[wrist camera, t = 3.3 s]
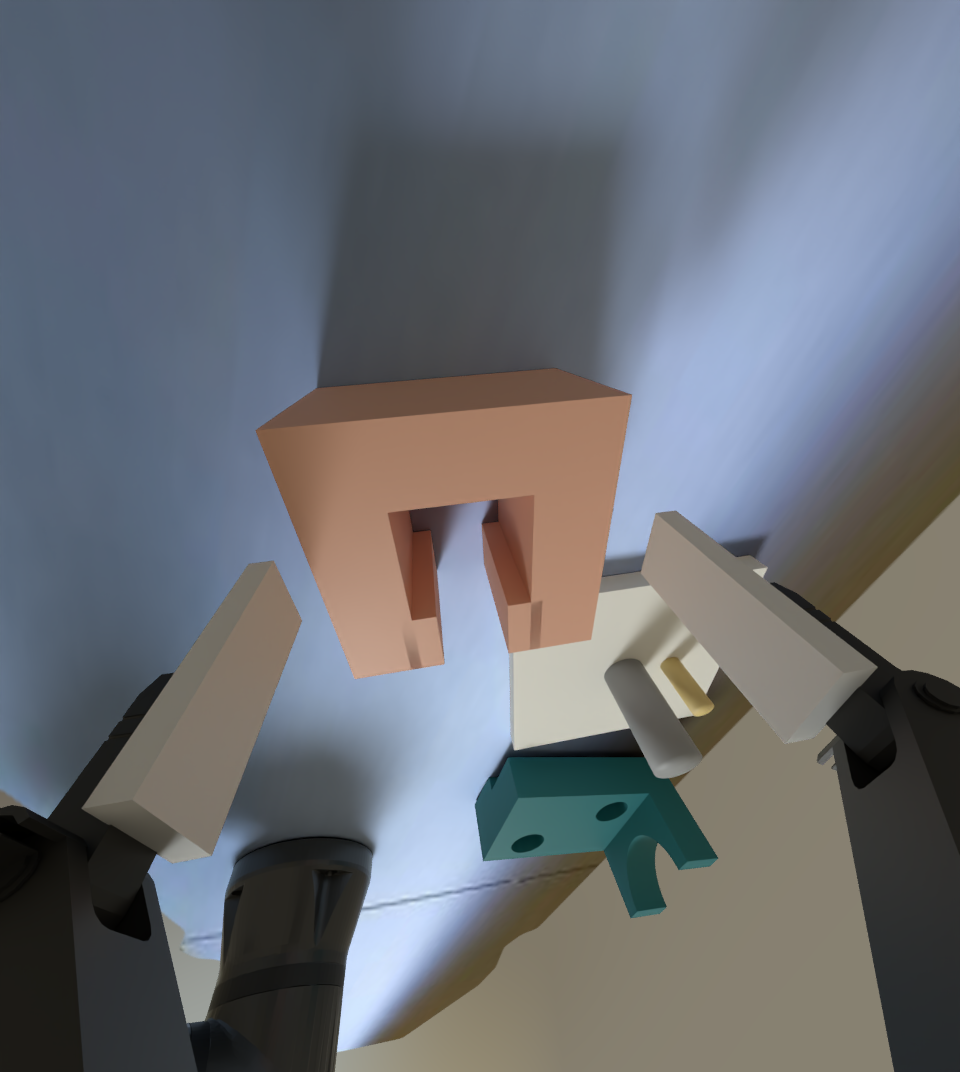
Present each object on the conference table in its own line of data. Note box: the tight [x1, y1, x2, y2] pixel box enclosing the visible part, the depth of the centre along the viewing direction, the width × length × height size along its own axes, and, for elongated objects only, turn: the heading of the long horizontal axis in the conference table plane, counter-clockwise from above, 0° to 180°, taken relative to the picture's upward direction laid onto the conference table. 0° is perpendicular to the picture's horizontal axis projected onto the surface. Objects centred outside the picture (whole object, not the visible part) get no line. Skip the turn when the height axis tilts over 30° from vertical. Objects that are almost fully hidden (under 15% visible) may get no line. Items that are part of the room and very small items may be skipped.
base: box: [509, 555, 768, 778], centre depth 26 cm, size 18×18×8 cm
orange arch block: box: [256, 368, 632, 679], centre depth 16 cm, size 11×11×7 cm
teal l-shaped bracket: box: [475, 757, 718, 918], centre depth 35 cm, size 18×11×10 cm, turn 72°
